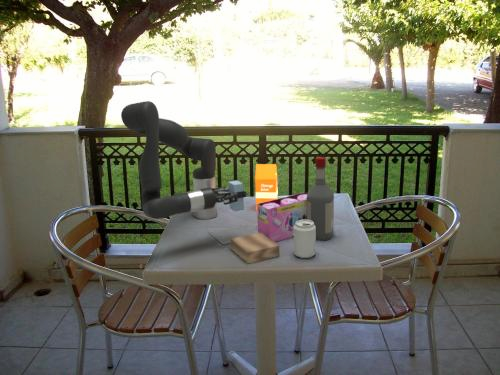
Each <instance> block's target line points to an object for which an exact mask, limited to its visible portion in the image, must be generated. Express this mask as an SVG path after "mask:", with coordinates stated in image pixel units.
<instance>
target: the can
mask: <svg viewBox="0 0 500 375" xmlns="http://www.w3.org/2000/svg"><path fill="white" fill-rule="evenodd" d="M316 242H317V240H316V227H315V225H314V222H313V221H311V220H298V221H296V222H295V225H294V237H293V255H295V256H296V257H297V256H298V257H297V258H299V257H300V259H309V258H312V257H313V256H314V255H315V254H316V253H317V252H316V251H317V250H316V248H317V246H316Z"/></svg>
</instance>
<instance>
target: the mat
mask: <svg viewBox="0 0 500 375" xmlns="http://www.w3.org/2000/svg"><path fill="white" fill-rule="evenodd" d="M209 234H210V235H211V237H213V238H214V239H216V241H218V242H219V243H220V244H221V245H222V246H224V245H228V244H231V239H232V238H237V237H241V236H246V235H250V234H254V233H253V232H252V231H250V230H248V229H247V228H245V226H242V225H241V224H240V225H236V226H231V227H227V228H221V229H216V230H212V231H211V230H210V231H208V235H209Z"/></svg>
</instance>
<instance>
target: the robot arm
mask: <svg viewBox="0 0 500 375" xmlns="http://www.w3.org/2000/svg"><path fill="white" fill-rule="evenodd" d="M120 115H121V117H120V118H121V121H122V123H123V125H124V126H125V127H126V128H127V129H128V130H130V131H132V132H135V133H137V134H140V135H144V136H145V144H144V147H143V150H142V154H141V157H140V160H139V164H138V173H139V175H138V176H139V181H140V187H141V209H142V211H143V214H144V215H145V216H146V217H147V218H151V219H155V220H159V219H164V218H168V217H171V216H174V215H180V214H184V213H190V212H191V213H193V216H194V217H196V219H199V220H207V219H213V218H215V217H217V216H218V205H217V204H223V205H224V206H226V205H229V204H230V203H233V202H237V201H238V198H243V199H244V198H247V191H246V190H243V191H242V192H235V193H230V192H229V187H225V186H221V187H216V184H217V183H216V170H217V167H216V166H217V160H216V159H217V158H216V157H217V148H216V144H215V141H214V140H213V139H212V138H199V137H198V138H197V137H191V136H190V135H189V134H188V131H187V129H186V128H185V127H184V126H183V125H181V124H179V123H178V122H175V121H174V120H170V119H166V118H160V115H159V111H158V107H157V106H156V104H155V103H154V102H152V101H148V100H147V101H146V100H145V101H141V102H134V103H130V104H127V105H126V106H124V108H123V109H122V110H121V114H120ZM160 143H162V144H163V145H165V146H167V147H168V148H171V149H173V150H175V151H178V152H181V153H182V154H183V155H184V156H186V157H187V158H189V159H191V160H192V161H199V162H202V166H200V167H197V168H195V169H193V170H192V183H193V190H189V191H185V192H180V193H176V194H173V195H171V196H170V195H169V196H164V197H161V189H162V187H163V186H162V184H163V183H162V175H161V168H160V157H159V156H160V155H159V154H160ZM233 197H234V198H233Z"/></svg>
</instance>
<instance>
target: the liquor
mask: <svg viewBox="0 0 500 375" xmlns="http://www.w3.org/2000/svg"><path fill="white" fill-rule="evenodd" d="M326 160H327V158H326V157H325V156H317V157H315V182H314V185H313V186H312V187H311V188H310V190H309V191H308V192H307V193H308V195H307V220H311V221H313V222H314V225H315V227H316V241H325V242H326V241H329V240H331V239H332V236H333V234H334V228H335V227H334V226H335V225H334V223H335V222H334V220H335V218H334V217H335V213H334V212H335V210H334V209H335V207H334V206H335V193H334V191H333V189H331V187H330V186H329V185H328V184H327V182H326V167H327V166H326V162H327V161H326Z"/></svg>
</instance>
